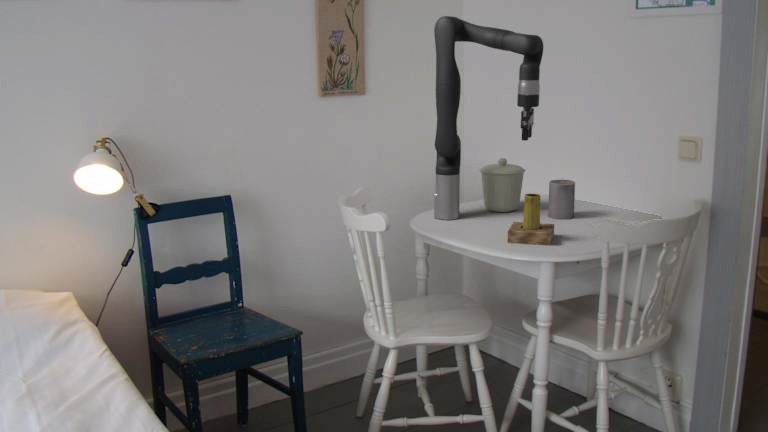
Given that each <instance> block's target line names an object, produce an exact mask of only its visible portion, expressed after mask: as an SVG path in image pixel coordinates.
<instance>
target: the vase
mask: <svg viewBox="0 0 768 432" xmlns="http://www.w3.org/2000/svg"><path fill="white" fill-rule="evenodd" d="M523 203H524V204H523V205H524V206H523V221H522V222H523V229H524V230H540V223H541V194H540V193H526V194H524V202H523Z"/></svg>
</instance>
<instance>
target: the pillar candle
mask: <svg viewBox="0 0 768 432" xmlns="http://www.w3.org/2000/svg"><path fill="white" fill-rule="evenodd" d="M575 190H576V182H575V181H574V180H572V179H571V180H570V179H563V178H562V179H553V180H550V181H549V185H548V216H547V217H548V218H550V219H554V220H570V219H573V218H574V216H575V198H576V197H575V196H576V195H575V194H576V191H575Z"/></svg>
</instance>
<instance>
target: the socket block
mask: <svg viewBox="0 0 768 432" xmlns="http://www.w3.org/2000/svg"><path fill="white" fill-rule="evenodd" d="M554 237H555V223H543V222H542V223H541V222H540V230H524V229H523V221H520V222H519V221H513V222H512V223H511V226H510V227H509V228H508V230H507V243H509V244H524V245H536V244H538V246H539V245H540V246H551V245H552V241H553V239H554Z"/></svg>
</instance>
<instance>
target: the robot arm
mask: <svg viewBox="0 0 768 432" xmlns="http://www.w3.org/2000/svg"><path fill="white" fill-rule="evenodd" d="M433 33H434V34H433V35H434V45H435V55H436V56H435V57H436V58H435V62H436V63H435V107H436V130H435V131H436V132H435V139H434V149H435V152H436V163H435V193H434V194H433V195H434V197H433V199H434V200H433V202H434V203H433V209H434V210H433V218H434V219H438V220H445V221H446V220H447V221H450V220H457V219H459V218H460V206H461V204H460V200H461V199H460V195H461V194H460V190H461V187H460V185H461V184H460V183H461V181H460V178H461V177H460V174H461V171H460V170H461V159H462V157H461V156H462V155H461V154H462V150H461V149H462V148H461V147H462V145H461V144H462V142H461V138H460V136H459V135H458V130H457V129H458V127H457V125H458V123H457V121H458V113H459V107H460V102H461V83H462V81H461V74H460V71H459V67H458V64H457V61H456V54H455V51H456V49H455V48H456V47H455V46H456V43H457V42H460V43H461V42H465V43H466V42H468V43H475V44H478V45H482V46H485V47H488V48H491V49H495V50H500V51H506V52H510V53H511V52H512V53H515V54H518V55H523V59H522V63H521V64H520V66H519V69H518V70H519V73H518V74H519V75H518V76H519V77H518V84H517V101H516V103H517V107H518V108H519V107H520V108H523V109H522V110H521V112H520V116H521V117H520V129H521V141H523V142H524V141H528V140H529V138H530V139H531V138H532V134H533V126H534V119H535V118H534V117H535V108H538V107H539V106H540V90H541V89H540V74H541V73H540V68H541V63H542V58H543V54H544V42H543V39H542V38H541V36H539V35H538V34H525V33H520V32H515V31H513V30H508V29H503V28H499V27H490V26H484V25H483V26H482V25H478V24H474V23H471V22H469V21H465V20H463V19H461V18H459V17H457V16H447V15H443V16H441V17H439V18H438V19H437V21H436V22H435V24H434V31H433Z"/></svg>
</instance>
